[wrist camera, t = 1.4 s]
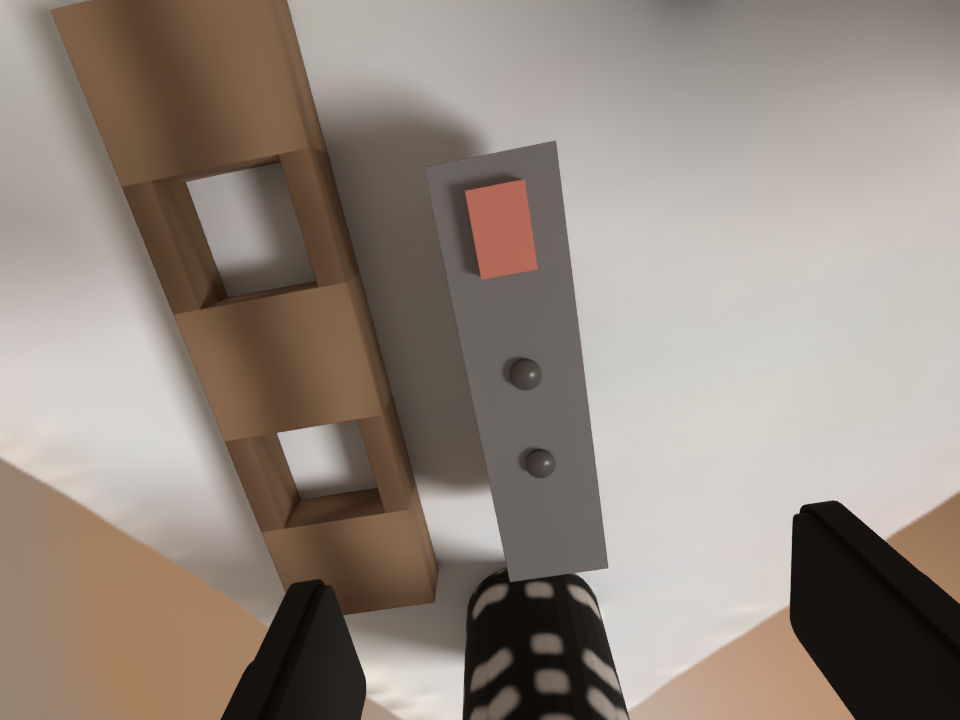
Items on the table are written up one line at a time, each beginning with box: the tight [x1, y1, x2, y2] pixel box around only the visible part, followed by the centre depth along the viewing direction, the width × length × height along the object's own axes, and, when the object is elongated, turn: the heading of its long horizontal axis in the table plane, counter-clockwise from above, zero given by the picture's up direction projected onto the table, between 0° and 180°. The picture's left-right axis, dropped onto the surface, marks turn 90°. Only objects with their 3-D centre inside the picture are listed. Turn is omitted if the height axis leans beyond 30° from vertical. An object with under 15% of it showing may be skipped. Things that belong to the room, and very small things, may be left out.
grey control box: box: [424, 141, 608, 582], centre depth 22 cm, size 4×18×7 cm, turn 11°
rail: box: [51, 0, 438, 615], centre depth 24 cm, size 8×30×2 cm, turn 11°
